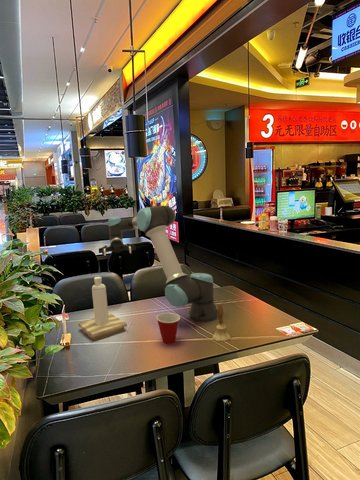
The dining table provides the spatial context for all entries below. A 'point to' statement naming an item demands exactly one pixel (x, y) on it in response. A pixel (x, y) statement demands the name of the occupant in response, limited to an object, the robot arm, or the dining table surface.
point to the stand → (102, 327)
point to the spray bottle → (100, 302)
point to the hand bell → (221, 327)
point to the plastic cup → (168, 326)
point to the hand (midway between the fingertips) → (117, 252)
